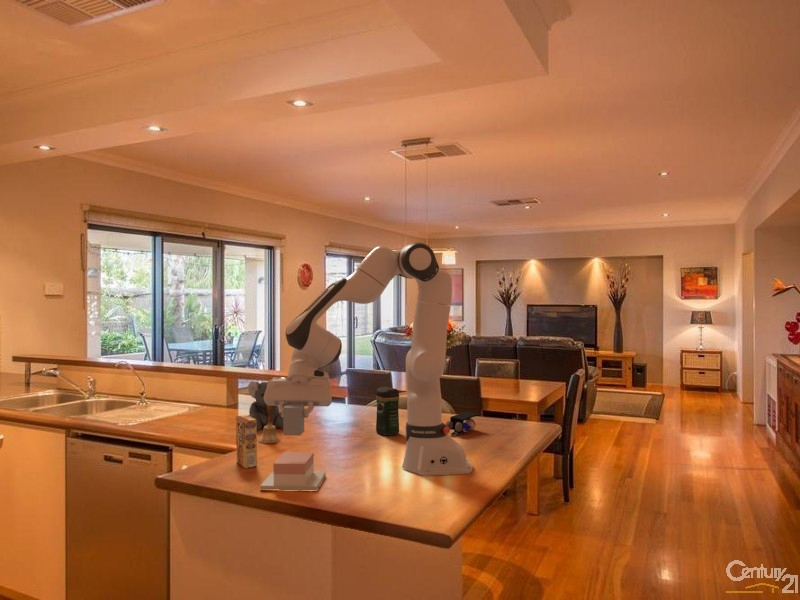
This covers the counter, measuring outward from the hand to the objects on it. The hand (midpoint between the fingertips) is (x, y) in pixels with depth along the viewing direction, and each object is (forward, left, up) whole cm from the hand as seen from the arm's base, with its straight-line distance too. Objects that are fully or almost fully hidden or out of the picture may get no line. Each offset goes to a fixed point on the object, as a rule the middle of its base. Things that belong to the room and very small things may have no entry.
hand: (294, 416), depth 168 cm
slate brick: (0, 0, -5) cm, 5 cm away
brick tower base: (0, 0, -20) cm, 20 cm away
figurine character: (-53, -66, -20) cm, 87 cm away
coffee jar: (-23, -63, -20) cm, 70 cm away
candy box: (+20, -18, -20) cm, 33 cm away
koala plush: (+30, -74, -20) cm, 82 cm away
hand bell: (+21, -49, -20) cm, 57 cm away
